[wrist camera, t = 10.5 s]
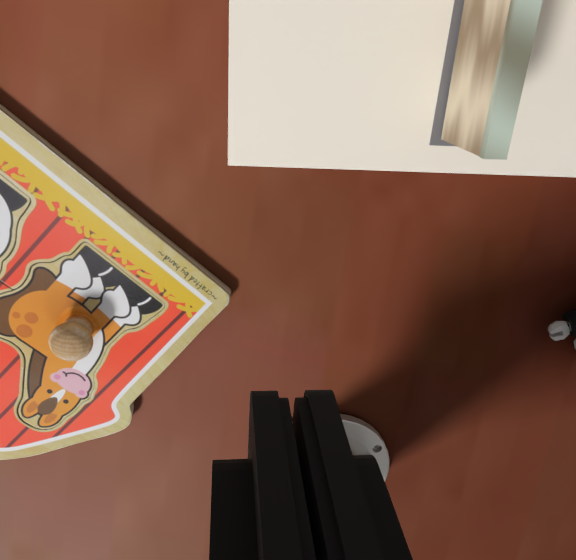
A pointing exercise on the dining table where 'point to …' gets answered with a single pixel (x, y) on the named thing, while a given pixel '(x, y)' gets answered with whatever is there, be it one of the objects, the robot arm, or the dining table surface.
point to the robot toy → (564, 327)
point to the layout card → (384, 88)
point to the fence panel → (489, 74)
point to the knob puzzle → (82, 300)
